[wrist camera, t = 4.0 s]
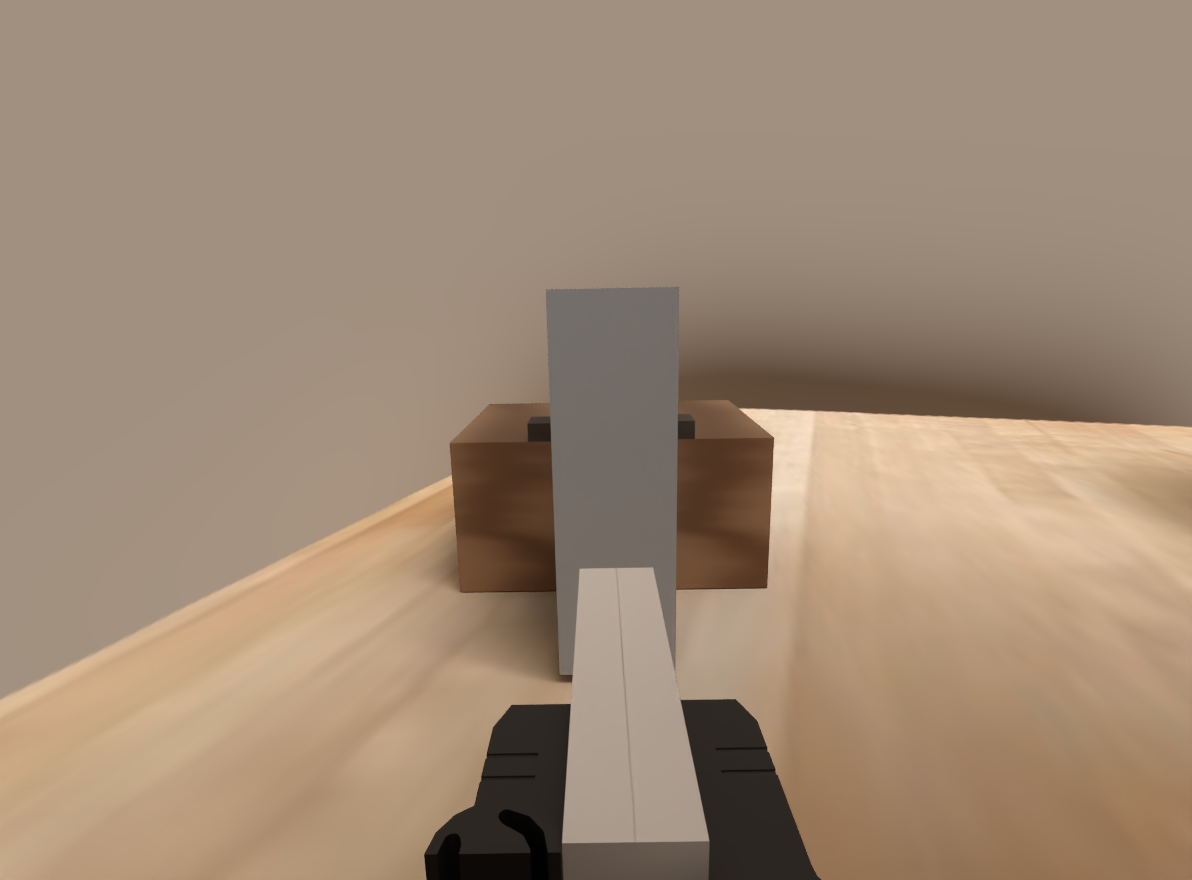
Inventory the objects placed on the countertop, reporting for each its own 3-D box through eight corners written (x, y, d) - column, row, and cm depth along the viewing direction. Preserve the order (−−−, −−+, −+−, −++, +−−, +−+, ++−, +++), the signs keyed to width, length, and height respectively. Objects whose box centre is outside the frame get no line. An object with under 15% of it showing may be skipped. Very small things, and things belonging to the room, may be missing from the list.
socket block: (724, 513, 38) (728, 386, 36) (767, 587, 28) (774, 419, 27) (496, 516, 38) (488, 390, 37) (460, 591, 29) (448, 425, 27)
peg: (655, 573, 29) (656, 289, 26) (675, 673, 22) (679, 287, 19) (570, 574, 29) (561, 291, 27) (559, 674, 22) (545, 289, 19)
